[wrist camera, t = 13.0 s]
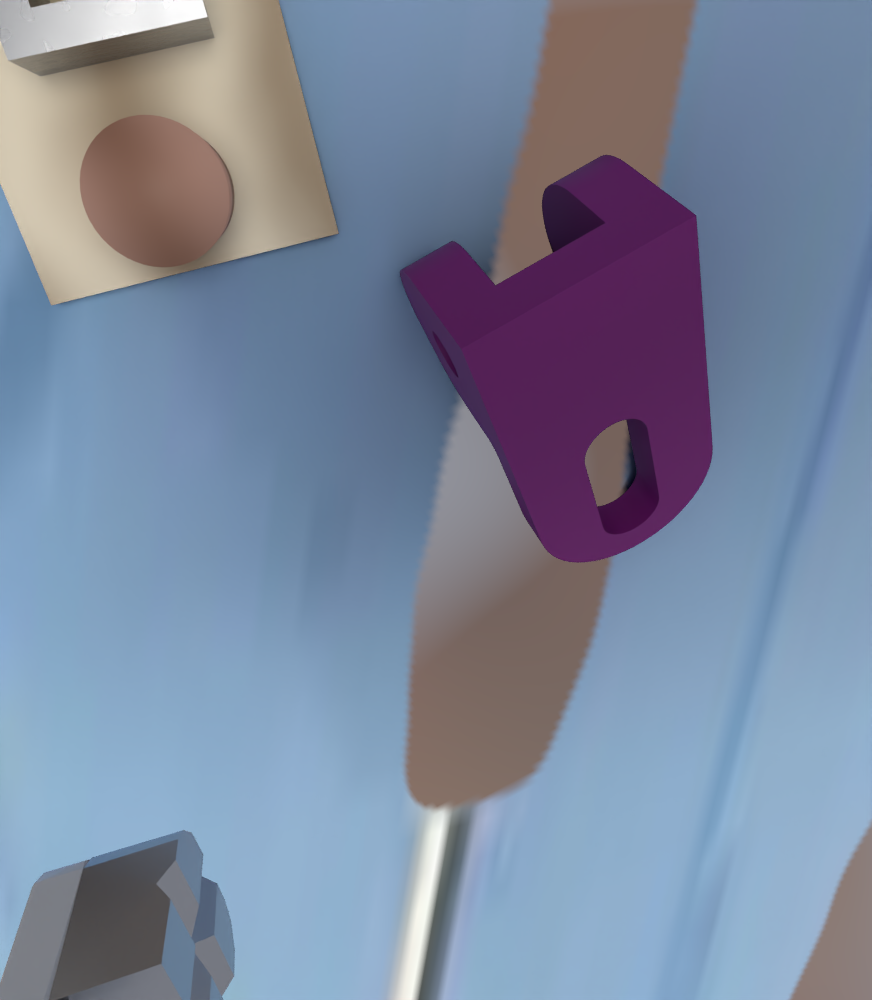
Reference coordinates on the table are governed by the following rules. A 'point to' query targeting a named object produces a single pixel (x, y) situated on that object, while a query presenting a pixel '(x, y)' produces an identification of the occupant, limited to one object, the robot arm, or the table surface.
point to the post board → (181, 92)
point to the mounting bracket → (583, 356)
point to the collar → (95, 30)
